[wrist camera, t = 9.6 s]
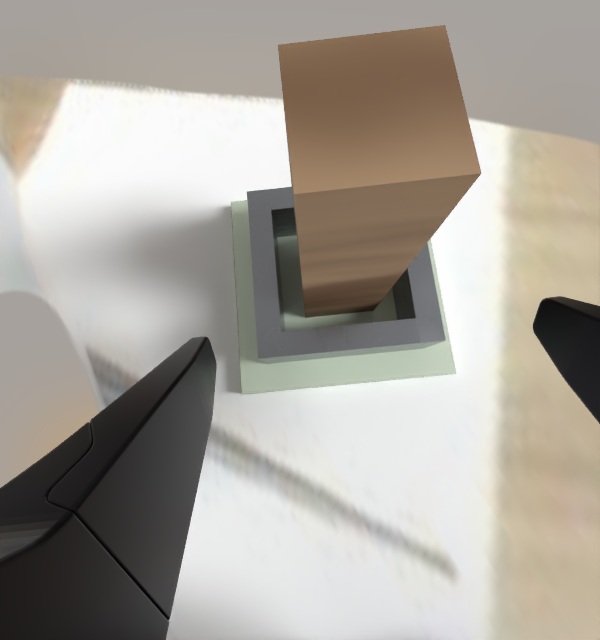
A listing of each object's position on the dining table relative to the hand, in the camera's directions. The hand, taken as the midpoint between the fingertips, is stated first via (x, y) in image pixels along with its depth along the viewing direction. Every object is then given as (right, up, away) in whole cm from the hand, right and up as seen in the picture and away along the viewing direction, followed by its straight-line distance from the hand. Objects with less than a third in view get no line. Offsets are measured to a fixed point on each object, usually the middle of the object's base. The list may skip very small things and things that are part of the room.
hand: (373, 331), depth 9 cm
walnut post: (0, +3, +11) cm, 11 cm away
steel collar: (0, +2, +12) cm, 12 cm away
